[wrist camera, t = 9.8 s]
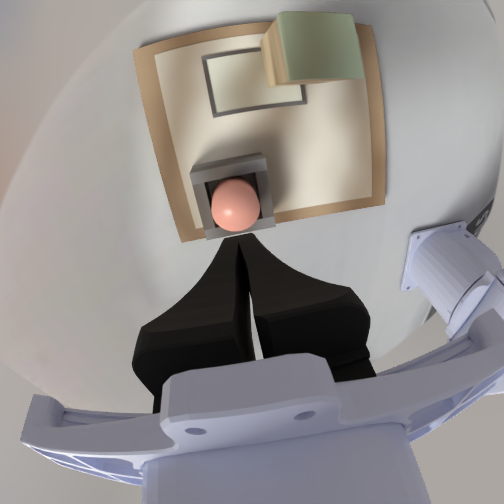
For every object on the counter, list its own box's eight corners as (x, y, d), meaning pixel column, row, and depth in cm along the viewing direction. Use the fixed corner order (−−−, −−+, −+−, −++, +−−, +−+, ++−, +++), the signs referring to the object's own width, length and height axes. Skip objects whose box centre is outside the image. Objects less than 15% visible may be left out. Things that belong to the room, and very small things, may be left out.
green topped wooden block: (309, 39, 14) (352, 14, 8) (317, 83, 16) (363, 78, 10) (259, 42, 14) (280, 11, 8) (268, 87, 16) (293, 79, 10)
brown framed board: (367, 27, 14) (387, 20, 12) (381, 202, 22) (399, 215, 20) (135, 51, 14) (121, 44, 11) (182, 239, 22) (178, 258, 20)
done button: (251, 171, 18) (255, 182, 16) (257, 211, 20) (263, 226, 17) (208, 180, 18) (206, 192, 16) (217, 219, 20) (217, 235, 17)
